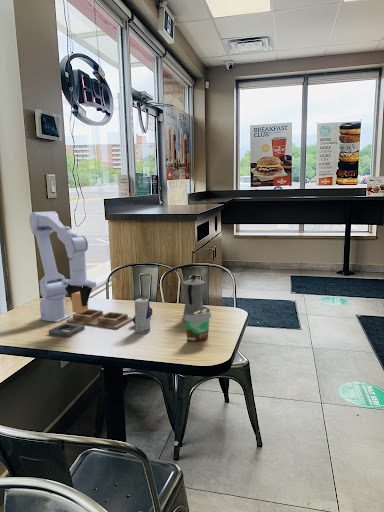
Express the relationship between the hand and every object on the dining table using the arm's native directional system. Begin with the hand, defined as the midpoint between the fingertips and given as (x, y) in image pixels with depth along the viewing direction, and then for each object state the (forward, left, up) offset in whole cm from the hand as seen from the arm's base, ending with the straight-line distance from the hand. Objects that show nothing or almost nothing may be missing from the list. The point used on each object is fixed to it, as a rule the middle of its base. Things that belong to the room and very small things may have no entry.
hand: (80, 305), depth 144 cm
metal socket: (-3, -4, -9) cm, 11 cm away
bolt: (+17, +18, -10) cm, 27 cm away
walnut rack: (+1, +11, -9) cm, 14 cm away
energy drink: (+23, +7, -10) cm, 26 cm away
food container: (+46, +8, -10) cm, 48 cm away
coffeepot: (+35, +27, -10) cm, 45 cm away
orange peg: (0, 0, -2) cm, 2 cm away
